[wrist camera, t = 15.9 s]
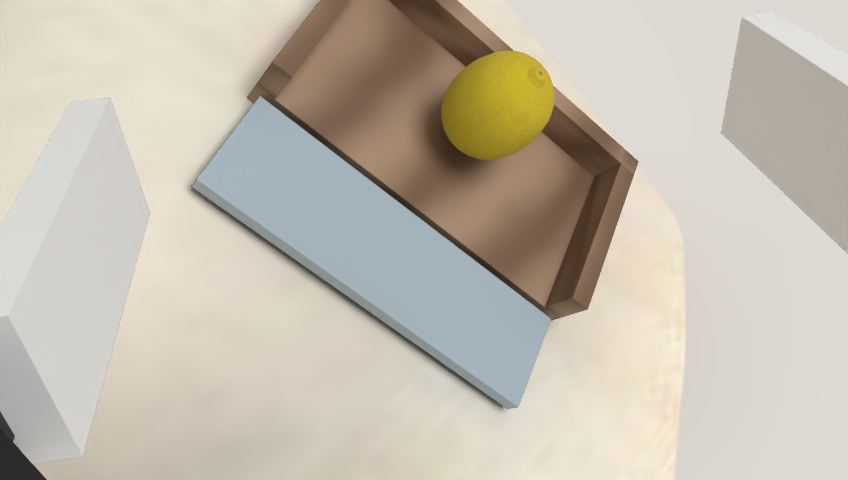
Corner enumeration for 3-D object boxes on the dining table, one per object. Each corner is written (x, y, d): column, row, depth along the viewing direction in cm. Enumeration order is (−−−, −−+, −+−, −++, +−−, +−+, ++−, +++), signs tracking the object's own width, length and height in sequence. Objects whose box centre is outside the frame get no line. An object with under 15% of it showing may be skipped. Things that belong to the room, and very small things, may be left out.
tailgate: (253, 104, 39) (191, 186, 36) (259, 96, 38) (196, 179, 35) (540, 322, 45) (507, 408, 42) (551, 319, 44) (518, 407, 41)
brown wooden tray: (246, 97, 40) (272, 61, 37) (346, -31, 46) (376, -72, 43) (543, 322, 46) (587, 309, 43) (596, 182, 52) (638, 161, 49)
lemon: (503, 126, 47) (591, 66, 40) (479, 196, 44) (569, 143, 38) (433, 76, 45) (513, 5, 39) (404, 145, 42) (484, 81, 36)
